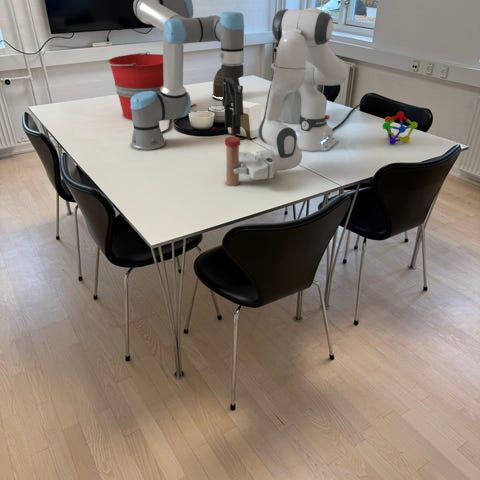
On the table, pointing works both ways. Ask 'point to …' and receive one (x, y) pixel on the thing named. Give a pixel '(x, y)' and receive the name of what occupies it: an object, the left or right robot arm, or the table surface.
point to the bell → (218, 84)
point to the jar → (232, 165)
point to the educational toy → (398, 128)
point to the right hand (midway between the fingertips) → (230, 168)
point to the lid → (232, 141)
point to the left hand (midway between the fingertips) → (232, 130)
